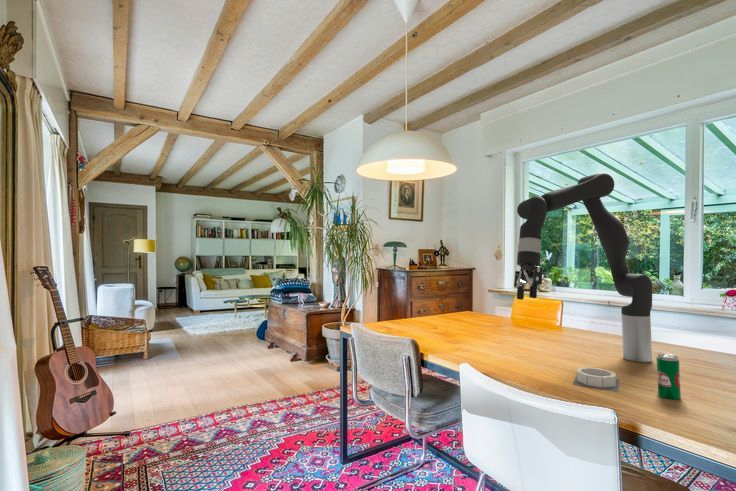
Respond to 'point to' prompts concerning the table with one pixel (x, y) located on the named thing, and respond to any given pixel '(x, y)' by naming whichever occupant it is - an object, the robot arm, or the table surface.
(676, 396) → the soda can
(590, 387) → the mat
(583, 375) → the grey faceted ashtray
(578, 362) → the table surface
